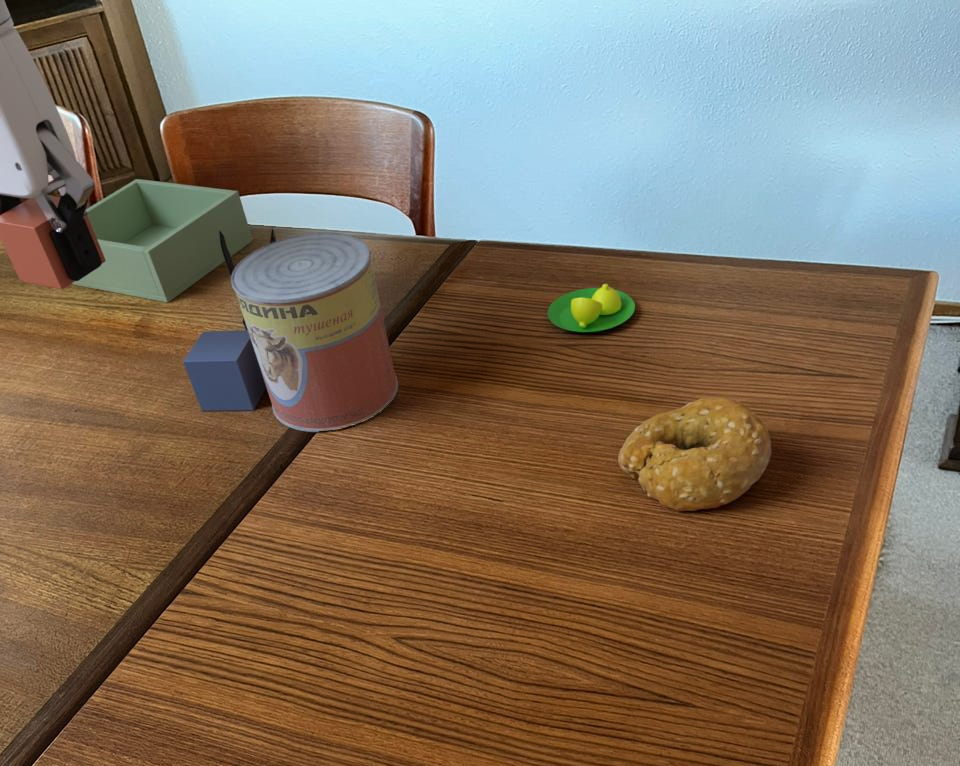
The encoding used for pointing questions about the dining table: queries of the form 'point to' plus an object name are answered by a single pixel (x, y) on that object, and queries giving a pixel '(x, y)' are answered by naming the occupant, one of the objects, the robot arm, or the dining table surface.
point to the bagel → (698, 454)
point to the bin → (163, 237)
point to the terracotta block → (35, 245)
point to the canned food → (317, 329)
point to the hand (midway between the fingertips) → (61, 265)
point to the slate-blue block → (225, 371)
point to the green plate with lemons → (591, 309)
